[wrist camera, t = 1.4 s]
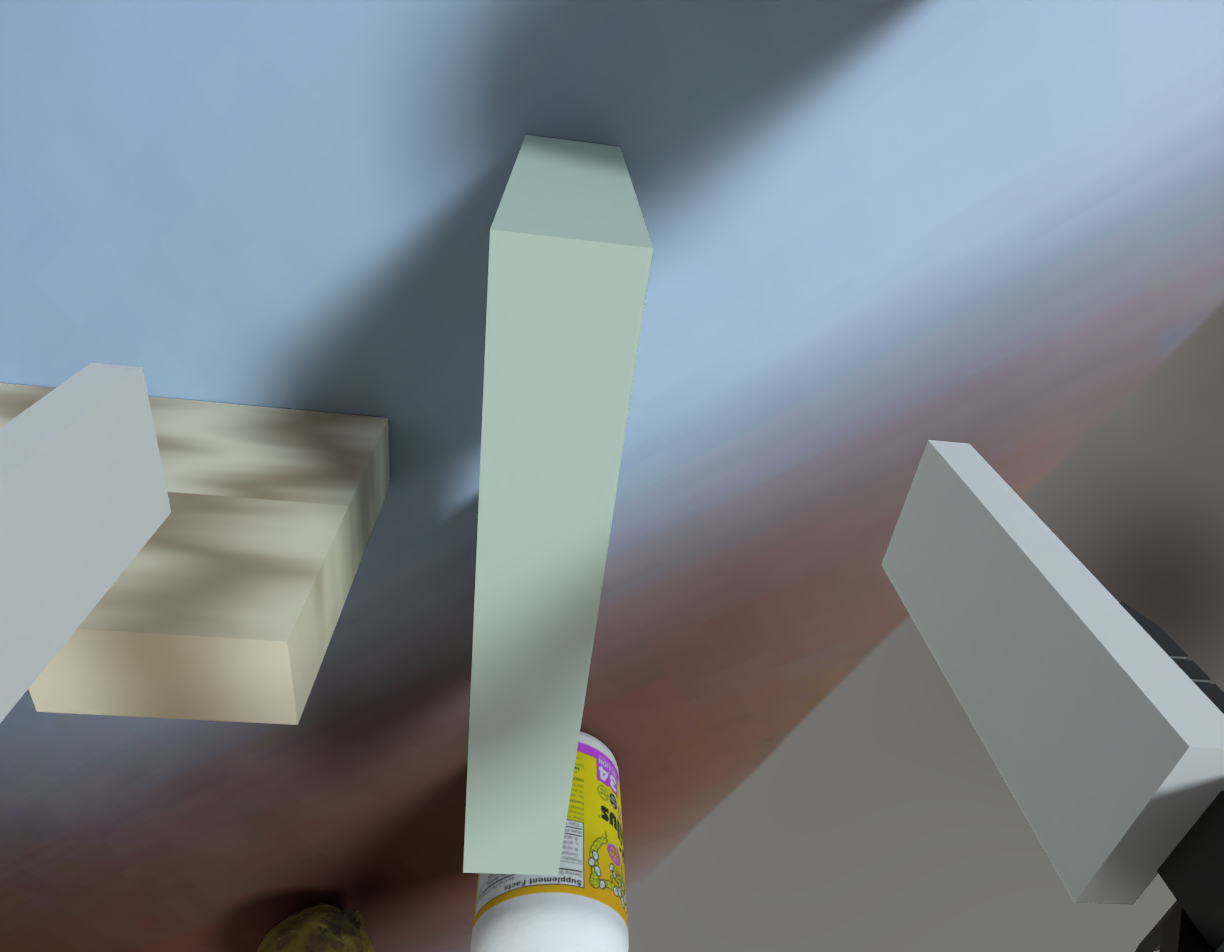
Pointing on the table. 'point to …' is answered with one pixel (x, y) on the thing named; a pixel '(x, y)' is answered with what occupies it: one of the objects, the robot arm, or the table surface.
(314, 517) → the notched wooden block
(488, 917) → the supplement bottle
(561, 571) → the sage slat
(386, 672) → the table surface
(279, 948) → the potato
